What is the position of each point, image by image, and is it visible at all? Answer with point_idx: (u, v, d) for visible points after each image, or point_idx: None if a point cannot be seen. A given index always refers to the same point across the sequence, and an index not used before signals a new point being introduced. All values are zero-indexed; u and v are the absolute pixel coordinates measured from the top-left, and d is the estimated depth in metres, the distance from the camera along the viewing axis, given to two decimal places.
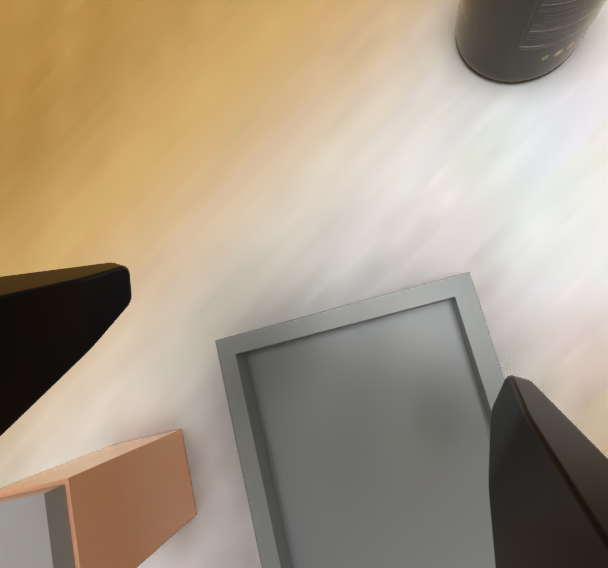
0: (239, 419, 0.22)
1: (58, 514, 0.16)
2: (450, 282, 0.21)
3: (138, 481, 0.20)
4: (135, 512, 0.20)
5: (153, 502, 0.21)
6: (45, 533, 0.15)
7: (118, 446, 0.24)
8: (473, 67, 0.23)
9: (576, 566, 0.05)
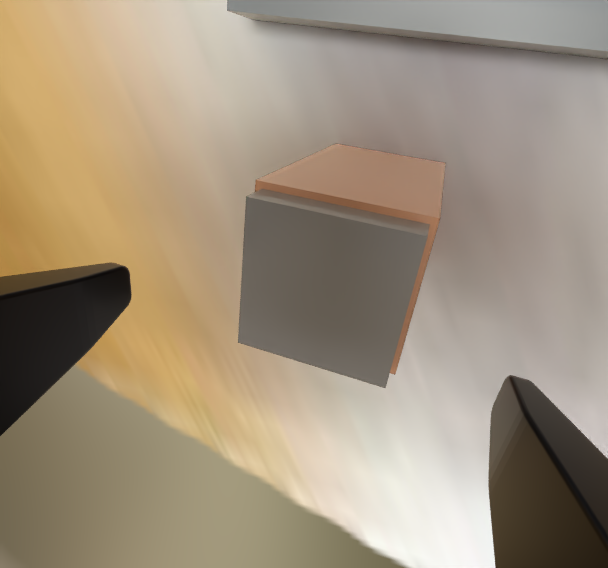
0: (339, 7, 0.15)
1: (289, 199, 0.11)
2: None
3: (345, 165, 0.15)
4: (376, 175, 0.14)
5: (385, 168, 0.15)
6: (298, 214, 0.10)
7: None
8: None
9: (576, 565, 0.05)
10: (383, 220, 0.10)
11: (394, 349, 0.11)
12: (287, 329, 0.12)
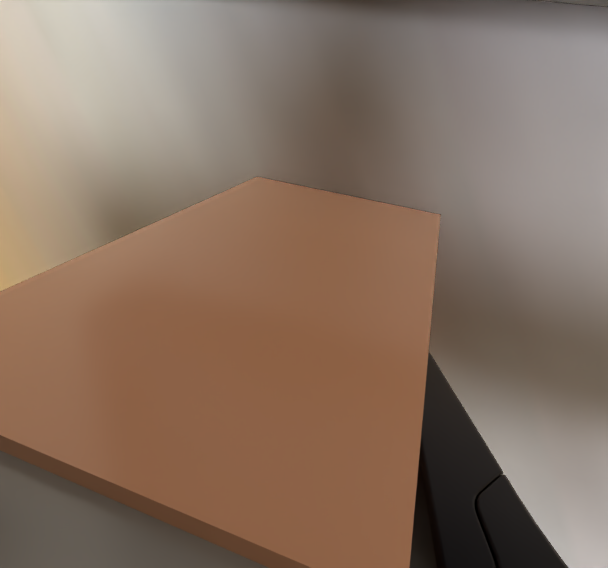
0: None
1: None
2: None
3: (226, 245, 0.07)
4: (281, 277, 0.06)
5: (315, 246, 0.07)
6: None
7: None
8: None
9: None
10: None
11: None
12: None
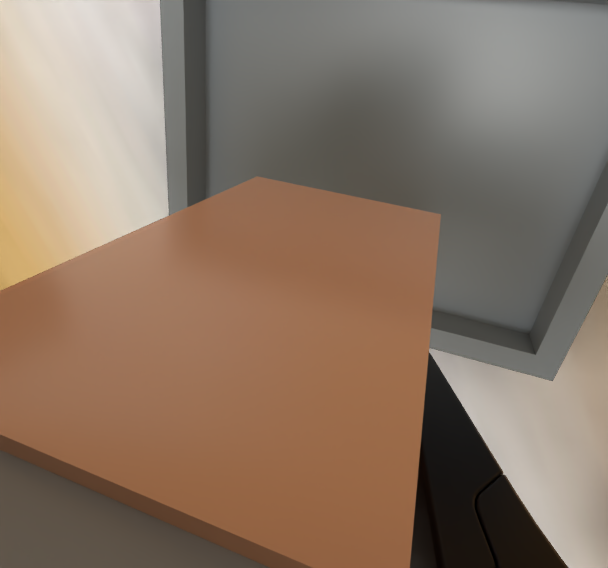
0: None
1: None
2: None
3: (226, 246, 0.07)
4: (281, 277, 0.06)
5: (315, 246, 0.07)
6: None
7: None
8: None
9: None
10: None
11: None
12: None
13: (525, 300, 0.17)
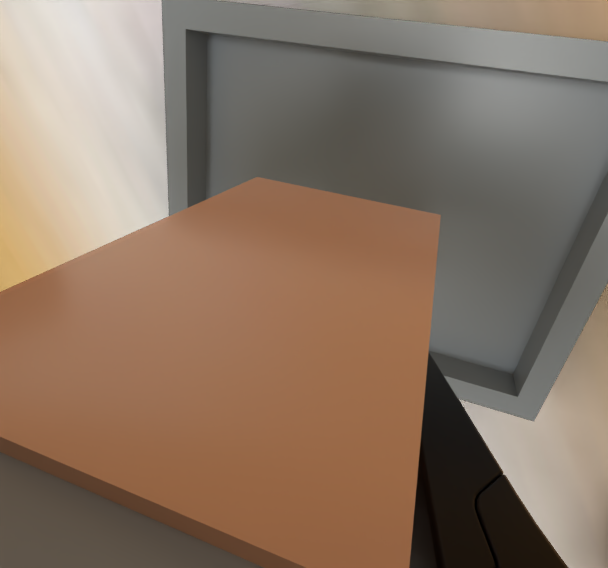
0: None
1: None
2: (169, 26, 0.16)
3: (226, 246, 0.07)
4: (281, 278, 0.06)
5: (315, 247, 0.07)
6: None
7: None
8: None
9: None
10: None
11: None
12: None
13: (509, 343, 0.18)
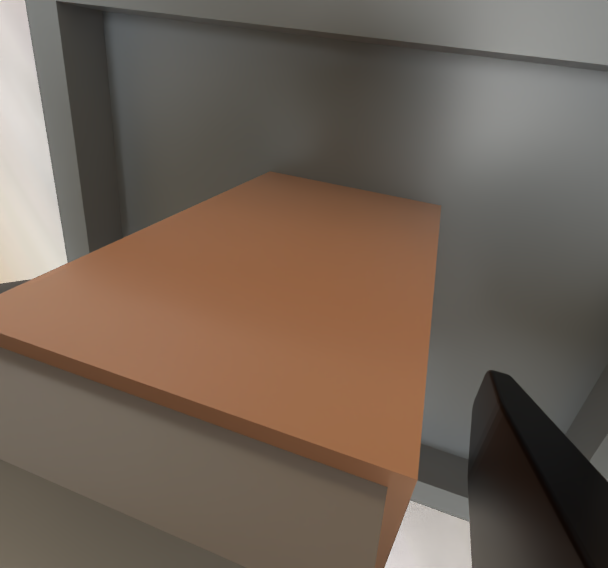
0: None
1: None
2: None
3: (250, 229, 0.08)
4: (302, 256, 0.07)
5: (329, 231, 0.08)
6: None
7: None
8: None
9: (541, 553, 0.05)
10: (239, 491, 0.03)
11: None
12: None
13: None
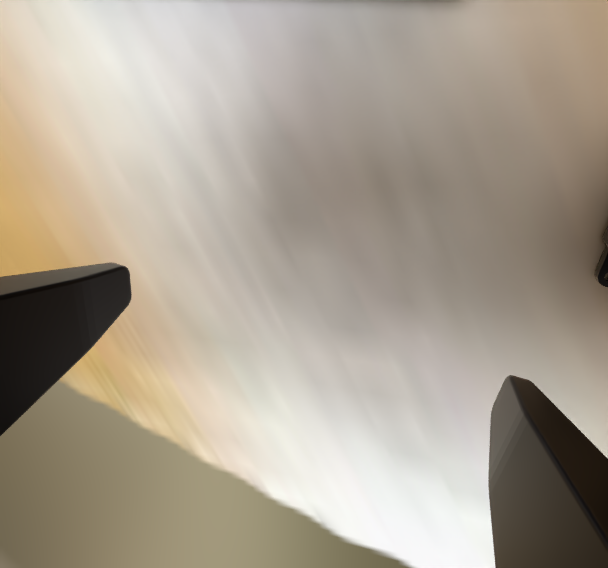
0: None
1: None
2: None
3: None
4: None
5: None
6: None
7: None
8: None
9: (576, 566, 0.05)
10: None
11: None
12: None
13: None
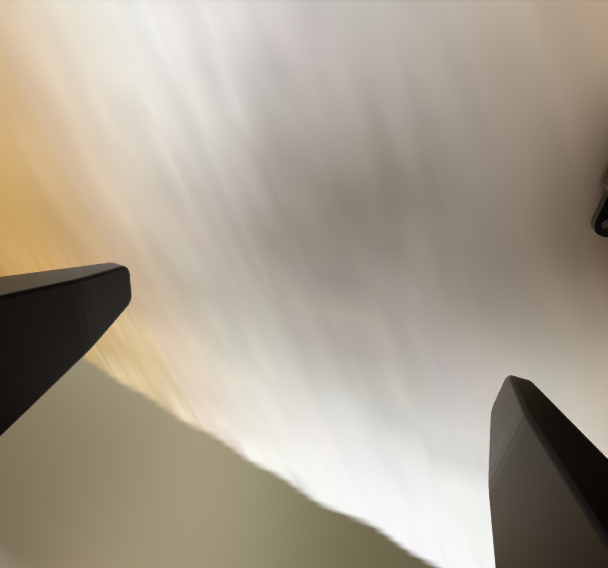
0: None
1: None
2: None
3: None
4: None
5: None
6: None
7: None
8: None
9: (576, 565, 0.05)
10: None
11: None
12: None
13: None
